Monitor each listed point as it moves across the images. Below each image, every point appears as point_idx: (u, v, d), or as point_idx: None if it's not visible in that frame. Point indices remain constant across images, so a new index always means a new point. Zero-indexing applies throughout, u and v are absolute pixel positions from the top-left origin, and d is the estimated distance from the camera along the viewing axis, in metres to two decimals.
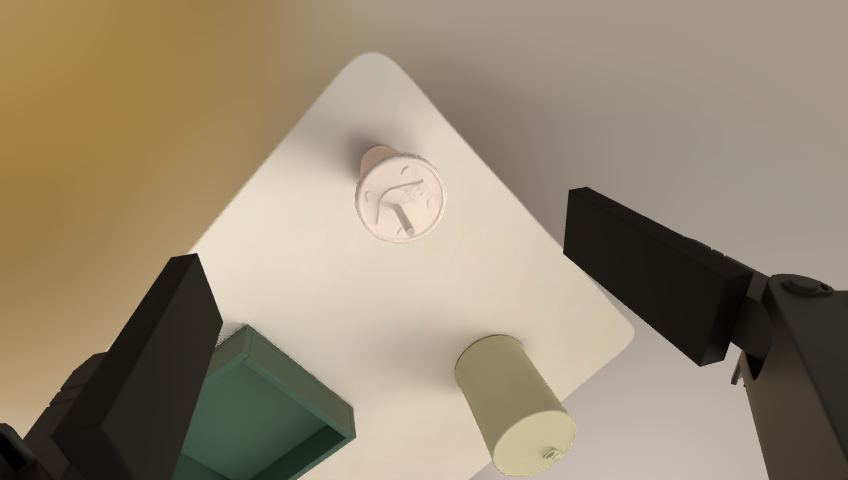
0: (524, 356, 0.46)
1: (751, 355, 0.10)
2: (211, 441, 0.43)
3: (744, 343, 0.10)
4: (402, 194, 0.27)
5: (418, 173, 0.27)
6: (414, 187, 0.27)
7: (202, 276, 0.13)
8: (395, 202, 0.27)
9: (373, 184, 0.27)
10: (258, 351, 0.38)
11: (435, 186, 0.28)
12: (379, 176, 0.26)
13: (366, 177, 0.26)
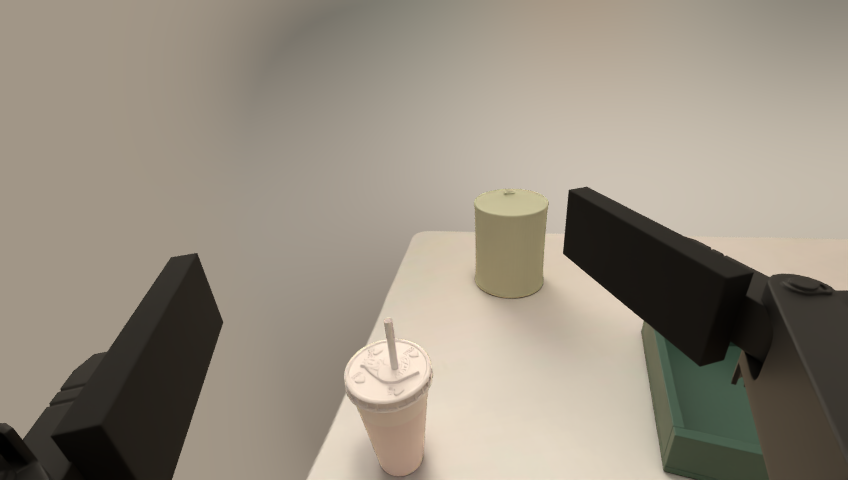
0: (476, 260, 0.54)
1: (751, 355, 0.10)
2: None
3: (744, 343, 0.10)
4: (380, 370, 0.28)
5: (357, 372, 0.29)
6: (370, 367, 0.29)
7: (201, 275, 0.13)
8: (390, 370, 0.28)
9: (385, 395, 0.27)
10: (666, 429, 0.31)
11: (361, 356, 0.30)
12: (375, 394, 0.27)
13: (382, 402, 0.26)
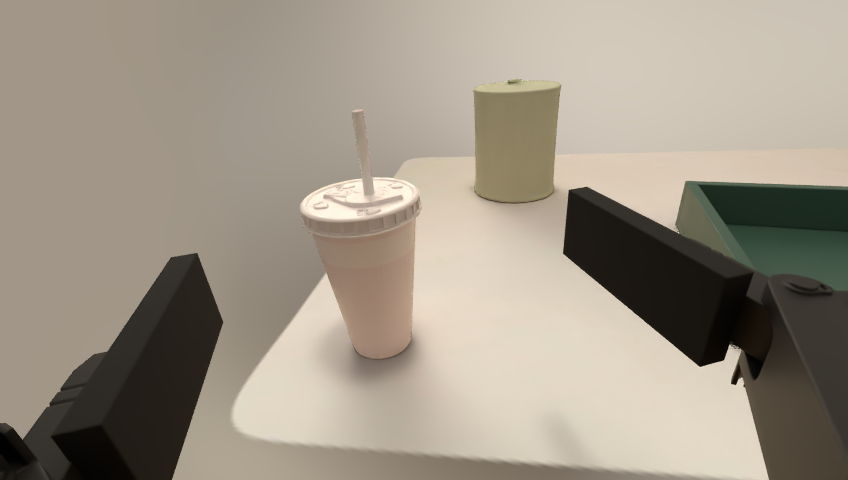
0: None
1: (750, 355, 0.10)
2: None
3: (744, 343, 0.10)
4: (349, 196, 0.21)
5: (318, 202, 0.21)
6: (336, 196, 0.21)
7: (201, 275, 0.13)
8: (363, 195, 0.21)
9: (354, 215, 0.19)
10: None
11: (326, 191, 0.23)
12: (340, 215, 0.19)
13: (348, 220, 0.19)
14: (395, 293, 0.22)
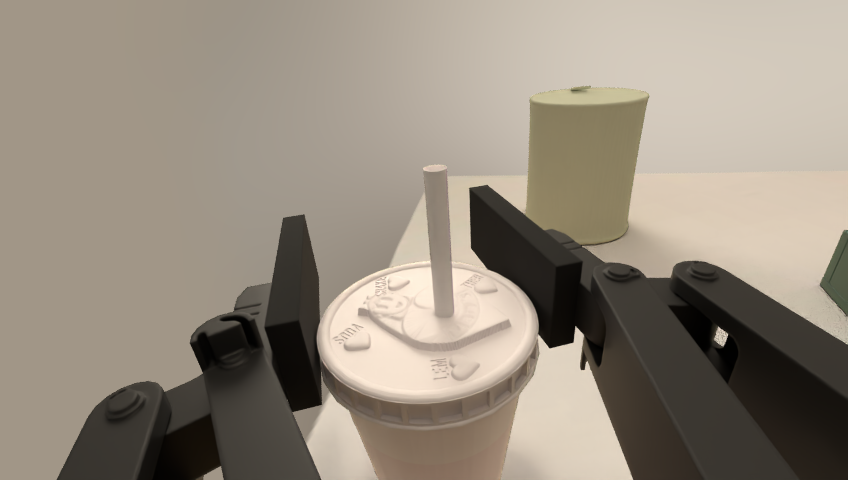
0: (528, 194, 0.37)
1: (591, 342, 0.11)
2: None
3: (584, 332, 0.11)
4: (409, 319, 0.11)
5: (350, 326, 0.11)
6: (381, 313, 0.12)
7: (307, 234, 0.15)
8: (435, 318, 0.11)
9: (429, 379, 0.09)
10: None
11: (360, 294, 0.13)
12: (400, 378, 0.10)
13: (421, 399, 0.09)
14: None
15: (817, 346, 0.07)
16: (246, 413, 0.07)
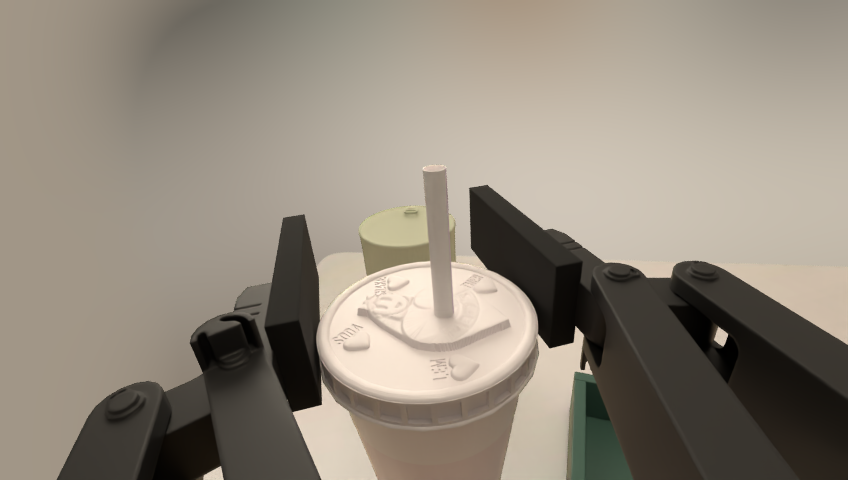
0: None
1: (591, 342, 0.11)
2: None
3: (584, 332, 0.11)
4: (409, 319, 0.11)
5: (349, 326, 0.11)
6: (381, 313, 0.12)
7: (308, 234, 0.15)
8: (434, 318, 0.11)
9: (428, 379, 0.09)
10: None
11: (360, 294, 0.13)
12: (400, 378, 0.10)
13: (421, 400, 0.09)
14: None
15: (816, 346, 0.07)
16: (246, 413, 0.07)
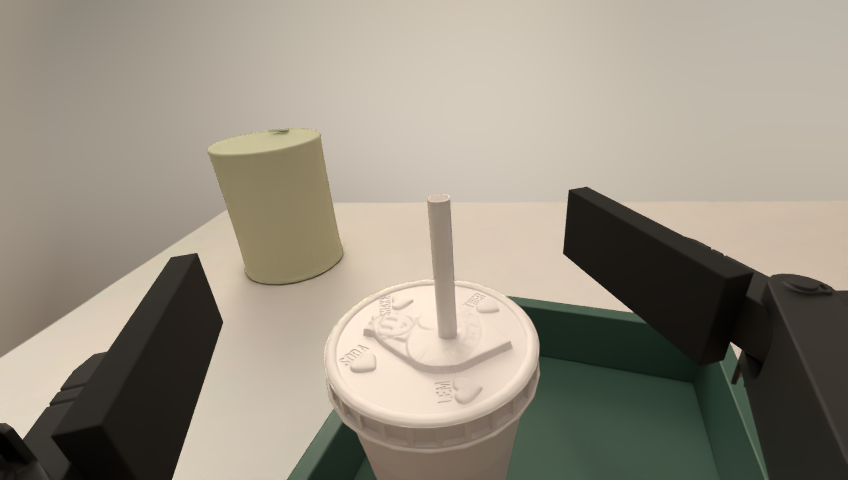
0: None
1: (751, 355, 0.10)
2: None
3: (744, 343, 0.10)
4: (413, 340, 0.11)
5: (356, 347, 0.12)
6: (386, 334, 0.12)
7: (202, 276, 0.13)
8: (438, 340, 0.11)
9: (433, 402, 0.10)
10: None
11: (365, 313, 0.13)
12: (406, 401, 0.10)
13: (426, 424, 0.09)
14: None
15: None
16: None
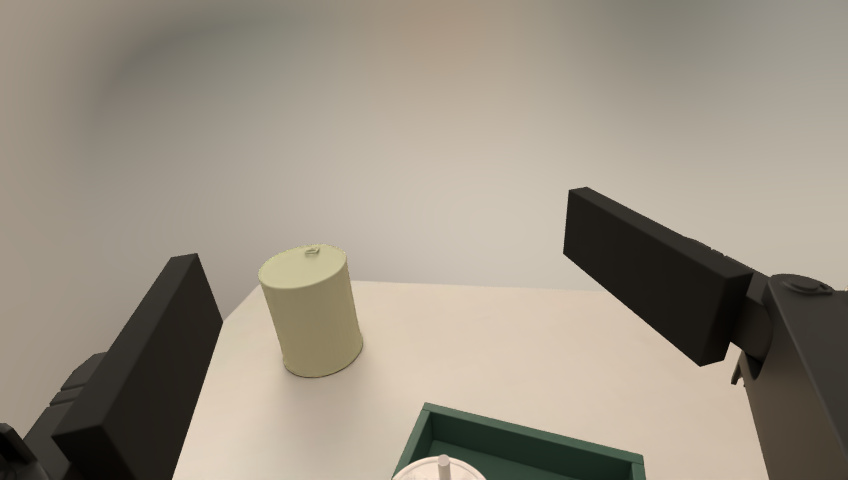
0: None
1: (751, 355, 0.10)
2: None
3: (744, 343, 0.10)
4: None
5: None
6: None
7: (202, 275, 0.13)
8: None
9: None
10: None
11: None
12: None
13: None
14: None
15: None
16: None
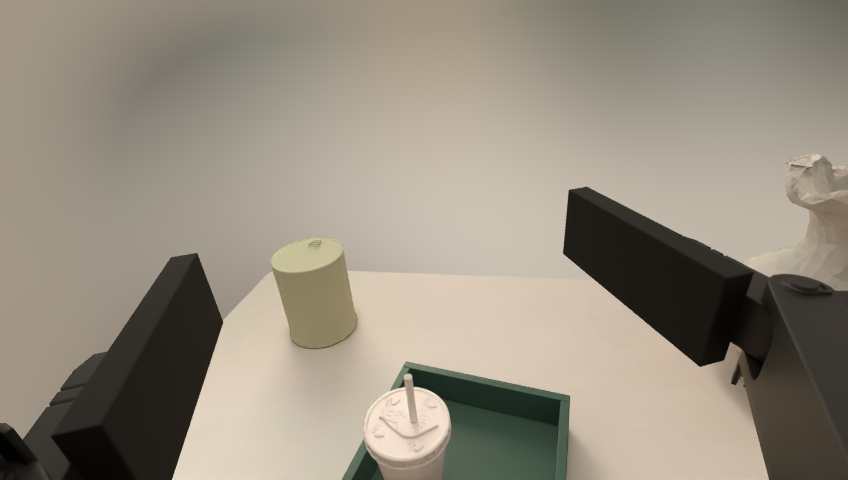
0: None
1: (750, 355, 0.10)
2: None
3: (744, 343, 0.10)
4: (399, 423, 0.29)
5: (376, 425, 0.29)
6: (388, 419, 0.29)
7: (202, 276, 0.13)
8: (409, 423, 0.28)
9: (405, 451, 0.27)
10: None
11: (379, 407, 0.30)
12: (396, 450, 0.27)
13: (403, 459, 0.26)
14: None
15: None
16: None
